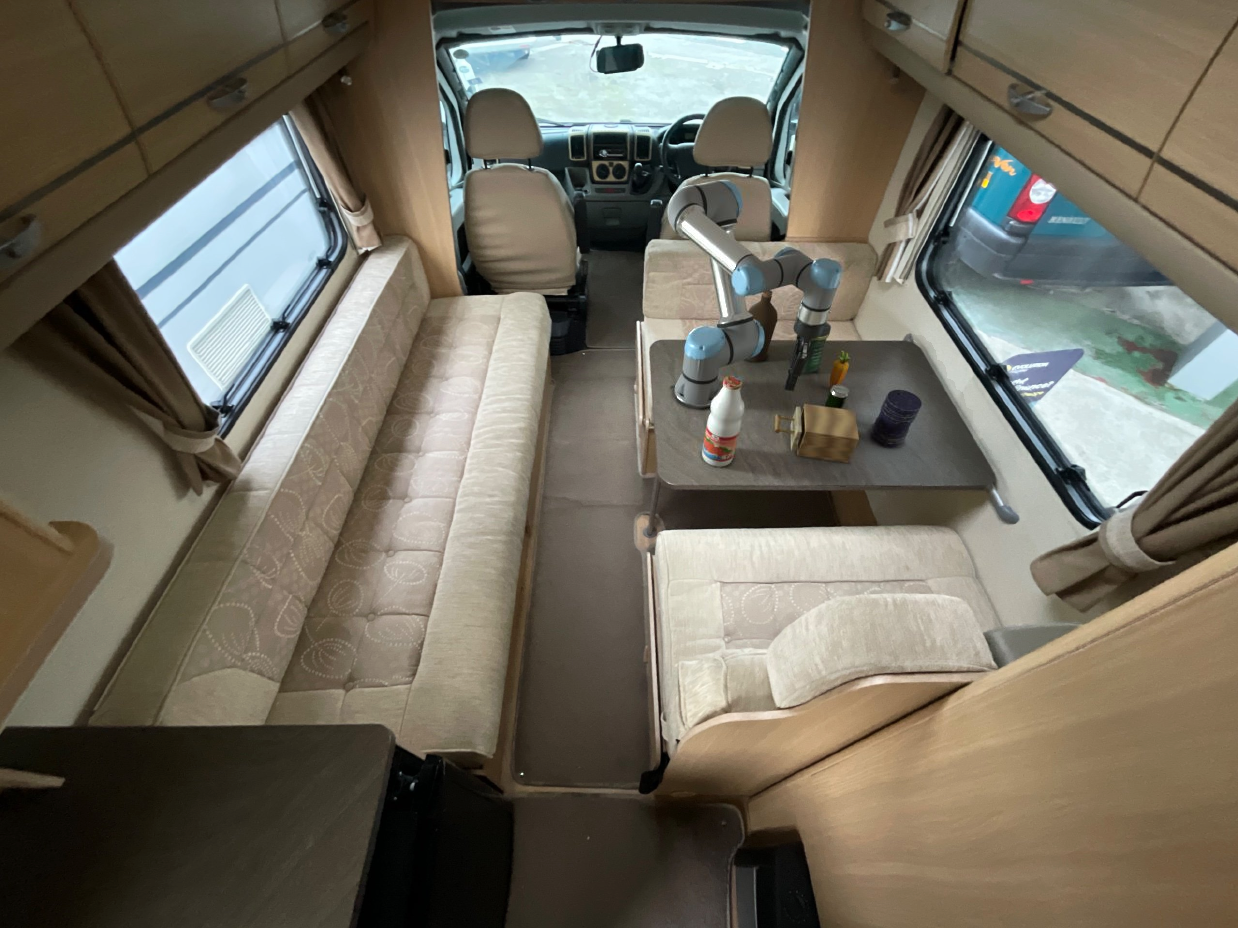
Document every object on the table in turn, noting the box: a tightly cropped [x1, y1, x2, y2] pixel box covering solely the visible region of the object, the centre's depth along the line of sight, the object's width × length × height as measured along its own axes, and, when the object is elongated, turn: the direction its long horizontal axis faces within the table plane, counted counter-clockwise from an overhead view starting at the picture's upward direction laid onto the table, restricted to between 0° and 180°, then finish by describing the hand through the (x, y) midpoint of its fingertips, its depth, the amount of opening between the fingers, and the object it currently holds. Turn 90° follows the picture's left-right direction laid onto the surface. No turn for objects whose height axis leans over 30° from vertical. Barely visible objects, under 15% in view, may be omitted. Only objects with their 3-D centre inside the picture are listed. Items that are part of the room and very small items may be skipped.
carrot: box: [829, 350, 851, 389], centre depth 184 cm, size 5×5×15 cm
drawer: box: [774, 406, 805, 452], centre depth 168 cm, size 19×12×8 cm, turn 79°
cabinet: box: [796, 403, 860, 464], centre depth 167 cm, size 15×13×10 cm
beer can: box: [824, 384, 849, 409], centre depth 175 cm, size 5×5×12 cm
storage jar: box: [869, 389, 923, 449], centre depth 168 cm, size 10×10×15 cm
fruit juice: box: [701, 375, 745, 468], centre depth 156 cm, size 9×9×28 cm
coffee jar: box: [802, 320, 832, 374], centre depth 192 cm, size 10×8×19 cm
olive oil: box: [747, 290, 778, 363], centre depth 194 cm, size 11×11×25 cm
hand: (788, 388), depth 164 cm, fingers closed
